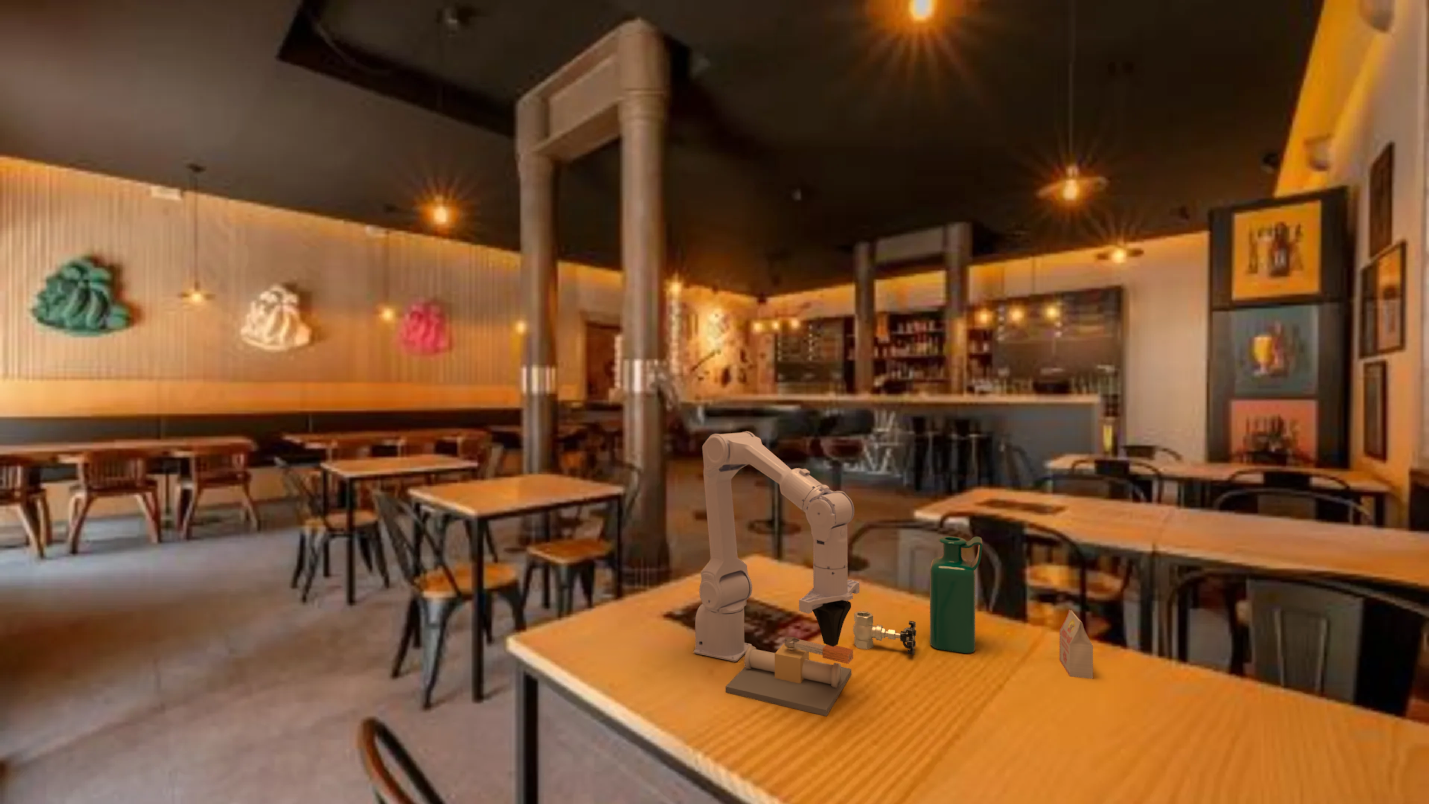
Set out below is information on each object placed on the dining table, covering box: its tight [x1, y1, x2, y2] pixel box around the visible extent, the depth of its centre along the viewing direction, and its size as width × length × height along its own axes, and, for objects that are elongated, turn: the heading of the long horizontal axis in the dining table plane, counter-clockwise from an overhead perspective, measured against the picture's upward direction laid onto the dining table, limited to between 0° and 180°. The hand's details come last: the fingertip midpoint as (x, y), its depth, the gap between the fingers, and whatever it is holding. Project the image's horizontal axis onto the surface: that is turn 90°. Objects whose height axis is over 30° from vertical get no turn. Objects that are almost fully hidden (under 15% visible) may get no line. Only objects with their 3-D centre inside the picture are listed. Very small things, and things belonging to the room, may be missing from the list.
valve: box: [852, 610, 917, 655], centre depth 123 cm, size 7×7×12 cm
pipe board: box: [725, 643, 852, 717], centre depth 109 cm, size 18×16×5 cm
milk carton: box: [1059, 609, 1094, 680], centre depth 114 cm, size 4×7×10 cm, turn 165°
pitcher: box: [929, 535, 983, 654], centre depth 125 cm, size 10×8×22 cm
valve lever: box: [784, 636, 854, 665], centre depth 108 cm, size 12×3×2 cm, turn 57°
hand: (830, 643), depth 104 cm, fingers closed
